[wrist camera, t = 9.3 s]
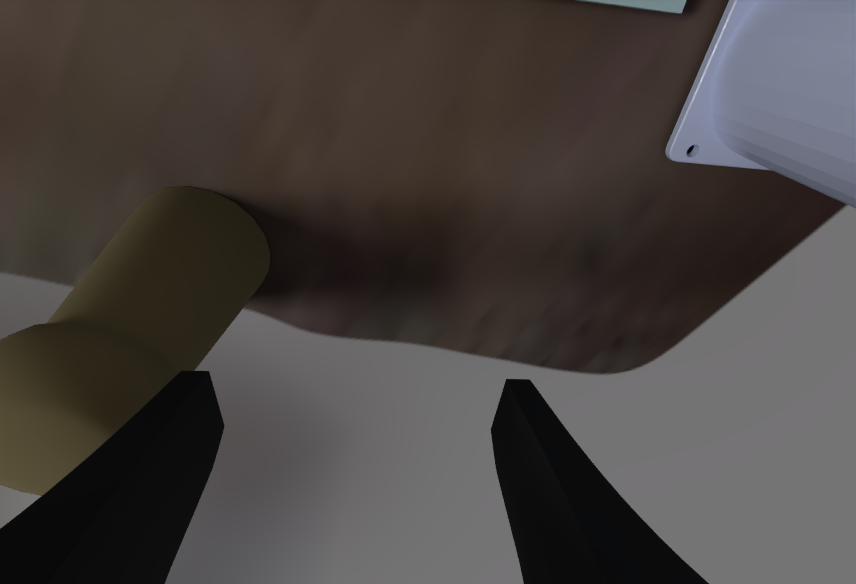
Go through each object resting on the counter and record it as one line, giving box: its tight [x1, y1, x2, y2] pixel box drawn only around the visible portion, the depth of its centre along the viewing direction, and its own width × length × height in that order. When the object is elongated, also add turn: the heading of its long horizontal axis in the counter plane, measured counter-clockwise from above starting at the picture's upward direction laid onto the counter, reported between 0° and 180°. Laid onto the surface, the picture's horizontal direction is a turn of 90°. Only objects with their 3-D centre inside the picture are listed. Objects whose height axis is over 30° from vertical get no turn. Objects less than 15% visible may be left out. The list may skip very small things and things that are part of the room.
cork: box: [0, 186, 270, 496], centre depth 15 cm, size 6×6×11 cm
